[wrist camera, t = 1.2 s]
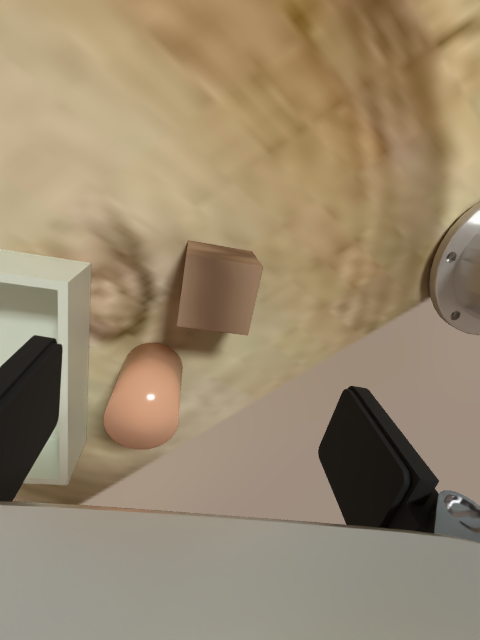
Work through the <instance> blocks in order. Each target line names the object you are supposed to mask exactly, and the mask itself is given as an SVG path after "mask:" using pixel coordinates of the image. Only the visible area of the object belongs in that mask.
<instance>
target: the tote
mask: <svg viewBox="0 0 480 640" xmlns="http://www.w3.org/2000/svg"><path fill="white" fill-rule="evenodd" d="M90 293H91V263H88V262H81V261H75V260H68V259H62V258H55V257H49V256H42V255H36V254H29V253H23V252H16V251H10V250H3V249H0V367H1V366H2V365H3V364H4V363H5V362H6V361H7V360H8V359H9V358H10V357H11V356H12V355H13V354H14V353H15V352H16V351H17V350H19V349H20V348H21V347H22V346H23V345H24V344H25V343H26V342H27V341H28V340H29V339H30V338H31V337H32V336H34V335H38V336H44V337H50V338H55V339H56V341H57V344H62V347H63V352H62V370H61V388H60V406H59V418H58V422H57V425H56V427H55V429H54V431H53V432H52V434H51V436H50V438H49V439H48V441H47V443H46V444H45V446H44V448H43V450H42V451H41V453H40V455H39V456H38V458H37V460H36V461H35V463H34V465H33V467H32V468H31V470H30V472H29V473H28V475H27V477H26V479H25V480H24V482H23V484H48V485H68V483H69V481H70V478H71V476H72V474H73V471H74V469H75V467H76V464H77V462H78V459H79V457H80V455H81V452H82V450H83V447H84V445H85V443H86V437H87V401H88V365H89V329H90Z"/></svg>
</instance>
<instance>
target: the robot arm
mask: <svg viewBox="0 0 480 640" xmlns="http://www.w3.org/2000/svg"><path fill="white" fill-rule="evenodd" d="M429 287H430V297H431V300H432V303H433V306H434V308H435V309H436V311H437V313H438V314H439V316H440V317H441V318H442V319H443V320H444V321H446V322H447V323H448V324H450V325H451V326H453V327H455V328H456V329H458V330H460V331H463V332H465V333H468V334H475V335H480V202H479V203H477V204H475V205H474V206H473V207H471V208H470V209H469V210H468V211H467V212H466V213H464V214H463V215H462V216H461V217H460V218H459V219H458V220H457V221H456V223H455V224H454V225H453V226H452V227H451V228H450V230H449V231H448V233H447V234H446V236H445V237H444V239H443V240H442V242H441V244H440V246H439V248H438V250H437V252H436V255H435V257H434V260H433V264H432V267H431V271H430V281H429ZM62 352H63V347H62V344H57V341H56V339H55V338H50V337H44V336H38V335H34V336H32V337H31V338H30V339H29V340H28V341H27V342H26V343H25V344H24V345H23V346H22V347H21V348H20V349H19V350H17V351H16V352H15V353H14V354H13V355H12V356H11V357H10V358H9V359H8V360H7V361H6V362H5V363H4V364H3V365H2V366H1V367H0V640H480V506H479V505H478V504H476V503H475V502H474V501H472V500H470V499H469V498H468V497H466V496H464V495H462V494H460V493H457V492H454V491H448V490H447V491H445V490H444V491H442V492H440V493H439V494H438V492H437V491H436V490H435V487H436V485H437V484H438V482H439V480H438V479H437V478H436V476H435V475H434V474H433V473H432V471H431V470H430V469H429V467H428V466H427V465H426V463H425V462H424V461H423V460H422V458H421V457H420V456H419V455H418V453H417V452H416V451H415V449H414V448H413V447H412V445H411V444H410V443H409V442H408V440H407V439H406V438H405V436H404V435H403V434H402V432H401V431H400V430H399V429H398V427H397V426H396V425H395V423H394V422H393V421H392V420H391V418H390V417H389V416H388V414H387V413H386V412H385V410H384V409H383V408H382V407H381V405H380V404H379V403H378V401H377V400H376V399H375V398H374V396H373V395H372V394H371V392H370V391H369V390H368V389H366V388H361V387H354V386H350V387H349V388H348V389H345V390H344V391H343V392H342V394H341V397H340V399H339V402H338V404H337V406H336V409H335V411H334V413H333V415H332V418H331V420H330V423H329V425H328V427H327V430H326V432H325V434H324V437H323V439H322V441H321V444H320V446H319V450H318V454H319V459H320V461H321V463H322V466H323V468H324V471H325V473H326V476H327V478H328V481H329V483H330V485H331V488H332V490H333V493H334V495H335V498H336V500H337V502H338V505H339V507H340V510H341V512H342V515H343V517H344V520H345V522H346V524H347V525H341V524H329V523H317V522H305V521H291V520H279V519H267V518H254V517H240V516H227V515H214V514H200V513H187V512H173V511H159V510H144V509H130V508H116V507H101V506H86V505H71V504H54V503H36V502H12V501H13V499H14V497H15V496H16V494H17V492H18V491H19V489H20V487H21V485H22V484H23V482H24V480H25V479H26V477H27V475H28V473H29V472H30V470H31V468H32V467H33V465H34V463H35V461H36V460H37V458H38V456H39V455H40V453H41V451H42V450H43V448H44V446H45V444H46V443H47V441H48V439H49V438H50V436H51V434H52V432H53V431H54V429H55V427H56V425H57V422H58V418H59V406H60V388H61V370H62Z"/></svg>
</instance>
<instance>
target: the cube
mask: <svg viewBox="0 0 480 640" xmlns="http://www.w3.org/2000/svg"><path fill="white" fill-rule="evenodd" d="M262 270H263V266H262V265H261V263H260V262H259V261H258V259H257V258H256V256H255V255H254V254H253V252H252V251H246V250H240V249H235V248H229V247H223V246H217V245H212V244H206V243H200V242H194V241H189V240H188V246H187V253H186V260H185V268H184V275H183V283H182V290H181V298H180V305H179V312H178V320H177V326H178V327H186V328H194V329H201V330H209V331H217V332H225V333H233V334H241V335H248V333H249V328H250V324H251V319H252V315H253V310H254V306H255V301H256V297H257V292H258V288H259V283H260V279H261V274H262Z"/></svg>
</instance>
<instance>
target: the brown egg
mask: <svg viewBox="0 0 480 640" xmlns="http://www.w3.org/2000/svg"><path fill="white" fill-rule="evenodd" d="M182 369H183V367H182V361H181V359H180V357H179V355H178V354H177V353H176V352H175V351H174V350H173V349H171V348H170V347H168V346H166V345H163V344H160V343H145V344H142V345H139V346H137V347H135V348H134V349H133V350H131V351H130V353H129V354H128V355H127V357H126V359H125V362H124V364H123V367H122V369H121V372H120V374H119V377H118V380H117V382H116V385H115V387H114V390H113V392H112V395H111V397H110V400H109V403H108V405H107V408H106V410H105V413H104V426H105V429H106V431H107V433H108V434H109V436H110V437H111V438H112V439H113V440H115V441H116V442H117V443H119V444H121V445H123V446H125V447H128V448H132V449H151V448H155V447H158V446H160V445H162V444H164V443H166V442H167V441H168V440H169V439H171V438H172V436H173V435H174V434H175V432H176V430H177V427H178V421H179V408H180V395H181V382H182Z"/></svg>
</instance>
